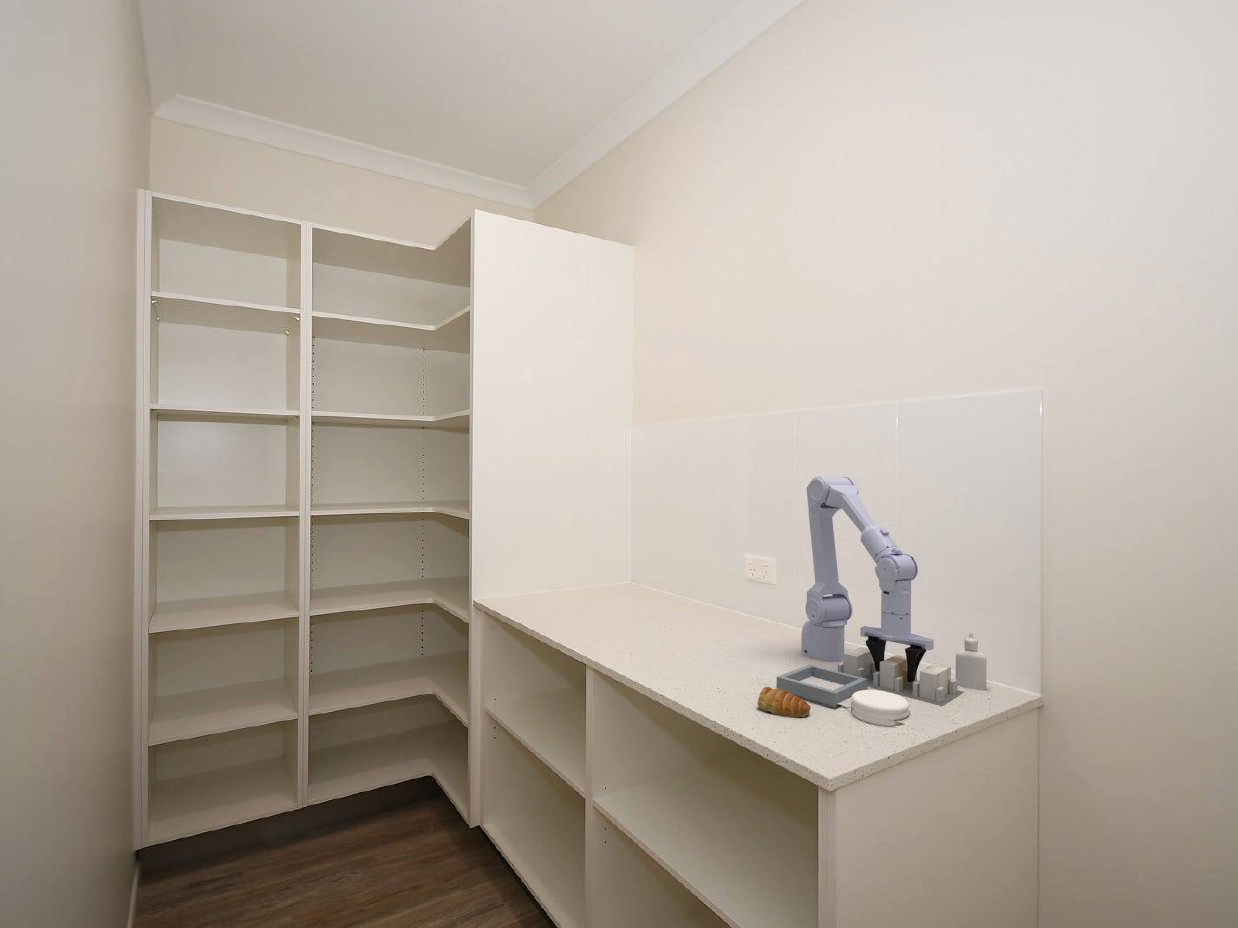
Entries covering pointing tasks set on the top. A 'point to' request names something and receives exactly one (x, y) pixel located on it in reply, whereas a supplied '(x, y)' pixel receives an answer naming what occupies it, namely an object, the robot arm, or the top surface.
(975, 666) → the eye dropper bottle
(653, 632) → the top surface
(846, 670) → the ivory fuse left
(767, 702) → the pastry
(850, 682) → the tray
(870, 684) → the panel
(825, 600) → the robot arm
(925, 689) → the block
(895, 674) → the orange fuse
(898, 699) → the white round tin
